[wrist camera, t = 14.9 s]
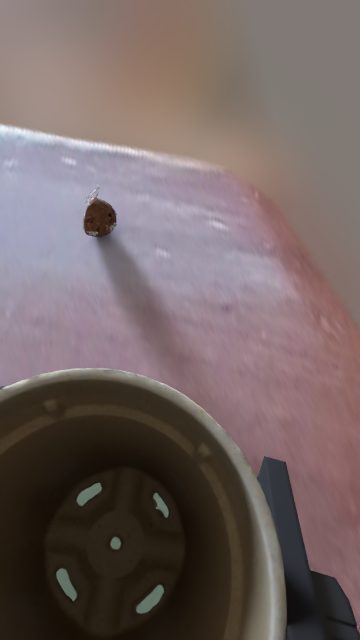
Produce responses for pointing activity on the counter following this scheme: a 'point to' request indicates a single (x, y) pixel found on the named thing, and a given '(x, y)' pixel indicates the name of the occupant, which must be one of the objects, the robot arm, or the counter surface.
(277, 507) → the robot arm
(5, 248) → the counter surface
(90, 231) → the chocolate
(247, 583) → the flower pot
